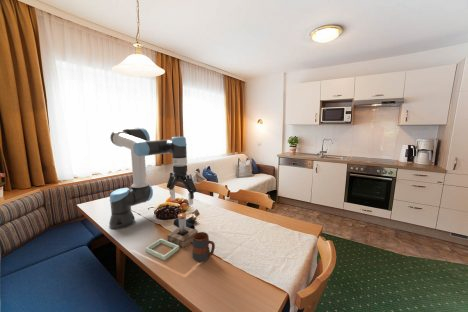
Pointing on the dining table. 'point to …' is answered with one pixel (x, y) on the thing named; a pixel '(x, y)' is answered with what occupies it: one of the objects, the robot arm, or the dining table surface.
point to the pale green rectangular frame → (161, 256)
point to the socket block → (181, 237)
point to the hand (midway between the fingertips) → (181, 202)
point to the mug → (202, 247)
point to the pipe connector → (187, 222)
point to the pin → (182, 224)
